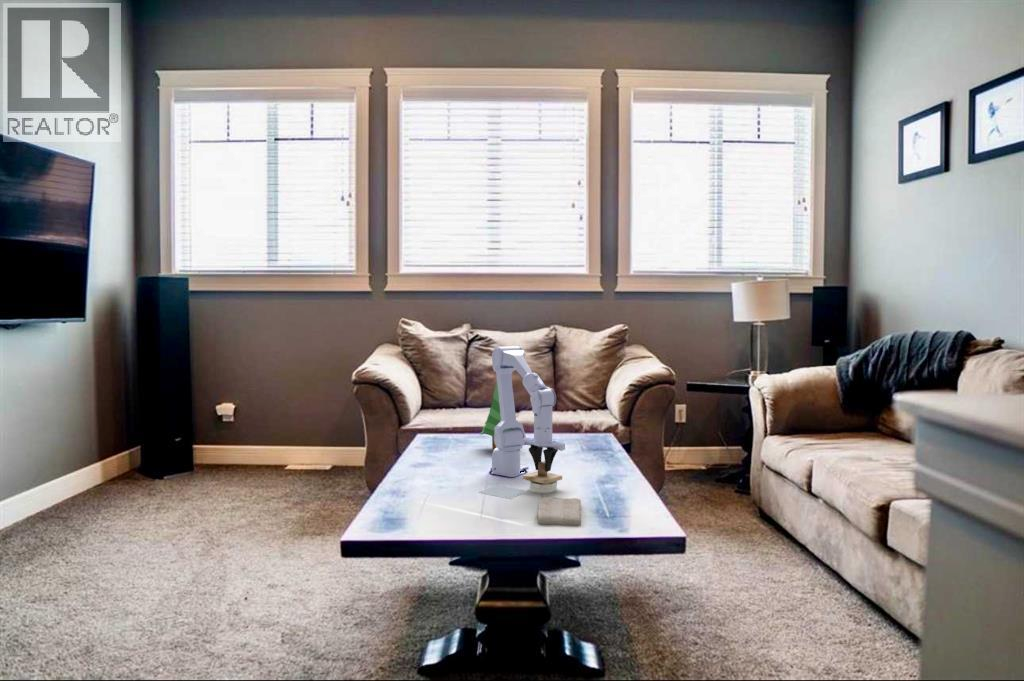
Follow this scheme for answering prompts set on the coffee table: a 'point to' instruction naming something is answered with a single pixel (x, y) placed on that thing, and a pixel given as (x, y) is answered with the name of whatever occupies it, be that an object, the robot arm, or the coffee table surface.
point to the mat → (503, 491)
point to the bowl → (543, 487)
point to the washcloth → (559, 511)
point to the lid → (542, 475)
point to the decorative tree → (493, 417)
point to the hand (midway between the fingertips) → (543, 470)
